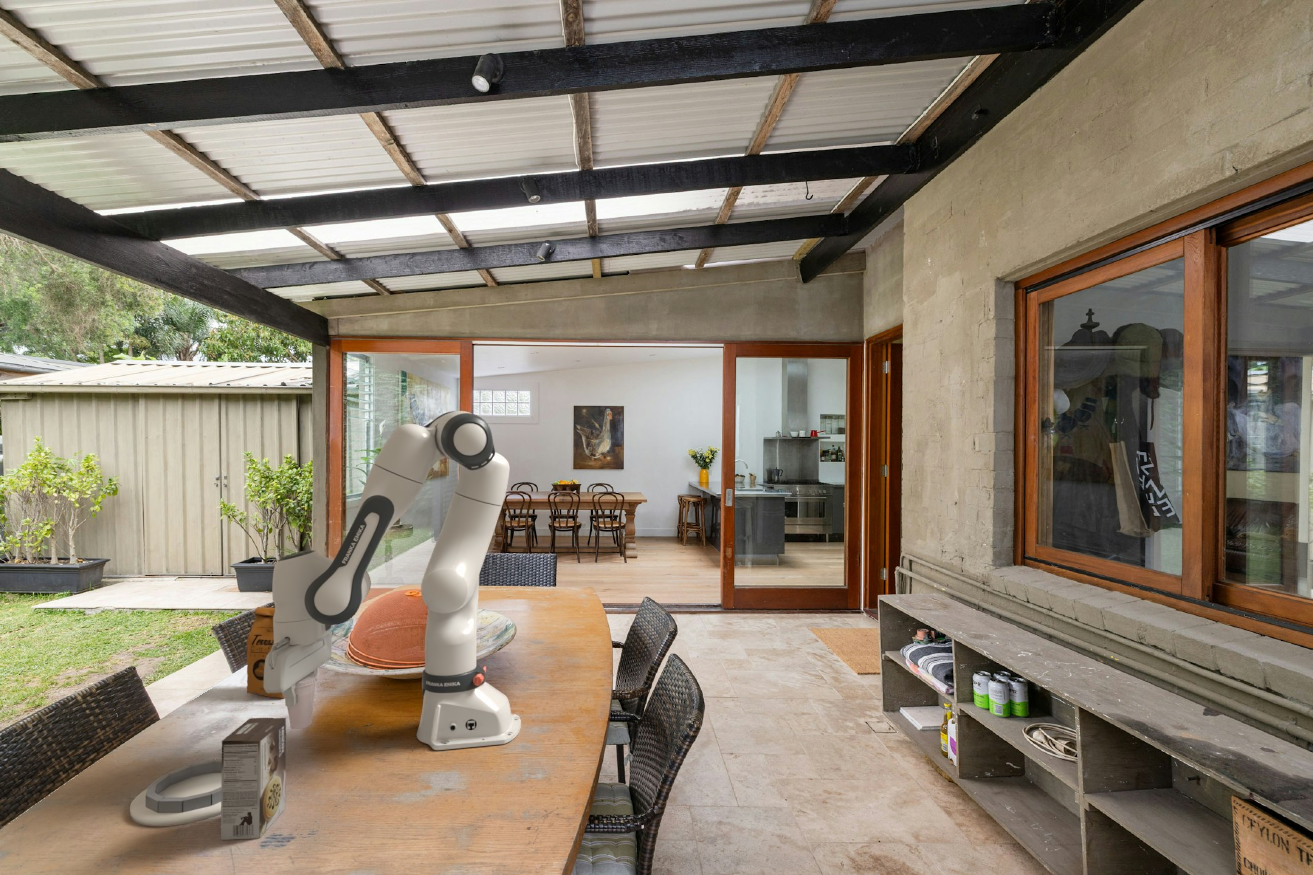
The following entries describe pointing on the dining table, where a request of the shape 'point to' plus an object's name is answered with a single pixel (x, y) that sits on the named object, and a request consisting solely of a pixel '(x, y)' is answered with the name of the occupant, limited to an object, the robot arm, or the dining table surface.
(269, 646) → the coffee package
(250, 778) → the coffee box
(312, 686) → the smoothie
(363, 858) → the dining table surface
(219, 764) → the ring plate
